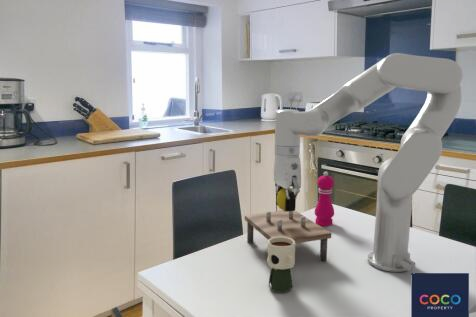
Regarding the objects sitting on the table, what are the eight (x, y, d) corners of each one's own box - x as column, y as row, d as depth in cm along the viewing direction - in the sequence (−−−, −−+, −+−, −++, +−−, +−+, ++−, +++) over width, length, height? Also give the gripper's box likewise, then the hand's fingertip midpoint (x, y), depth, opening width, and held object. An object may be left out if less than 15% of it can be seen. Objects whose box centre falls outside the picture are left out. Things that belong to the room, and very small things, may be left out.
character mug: (258, 281, 114) (259, 236, 112) (281, 276, 117) (282, 232, 115) (279, 301, 105) (280, 252, 102) (303, 294, 108) (305, 246, 105)
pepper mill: (319, 218, 164) (321, 168, 160) (337, 223, 159) (339, 171, 155) (310, 224, 158) (312, 171, 154) (328, 228, 154) (330, 174, 150)
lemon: (284, 207, 136) (284, 183, 134) (297, 211, 132) (298, 187, 130) (272, 211, 132) (273, 186, 130) (286, 216, 128) (287, 190, 126)
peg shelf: (330, 261, 127) (331, 223, 124) (275, 271, 120) (276, 231, 118) (292, 233, 148) (293, 200, 146) (244, 240, 142) (244, 206, 140)
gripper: (312, 154, 121) (310, 215, 125) (285, 145, 137) (283, 198, 141) (289, 156, 119) (287, 217, 122) (264, 146, 135) (263, 201, 138)
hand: (285, 207), depth 132 cm, fingers closed on lemon, 5 cm apart
